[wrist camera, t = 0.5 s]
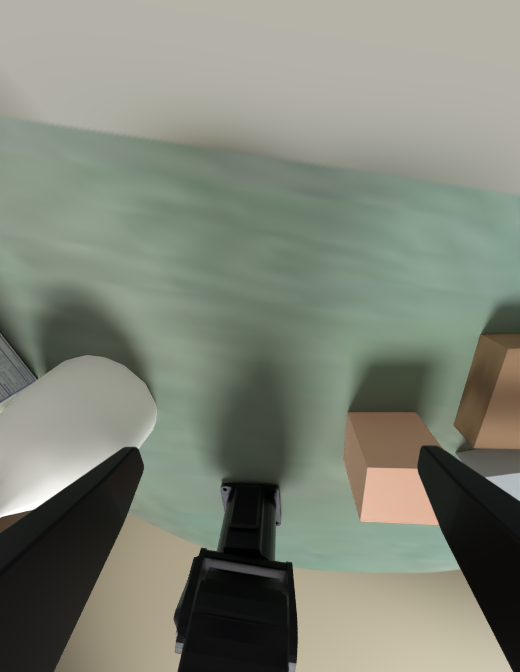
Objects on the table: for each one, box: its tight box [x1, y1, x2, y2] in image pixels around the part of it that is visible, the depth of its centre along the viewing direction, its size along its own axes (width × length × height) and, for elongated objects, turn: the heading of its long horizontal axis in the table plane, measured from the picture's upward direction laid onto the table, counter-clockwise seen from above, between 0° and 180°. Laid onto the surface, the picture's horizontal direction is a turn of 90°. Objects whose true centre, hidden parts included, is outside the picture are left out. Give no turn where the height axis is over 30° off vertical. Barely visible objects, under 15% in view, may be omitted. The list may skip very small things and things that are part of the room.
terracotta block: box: [344, 412, 443, 525], centre depth 21 cm, size 6×6×6 cm
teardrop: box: [0, 355, 157, 517], centre depth 20 cm, size 11×11×12 cm
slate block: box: [455, 448, 520, 501], centre depth 23 cm, size 6×6×3 cm
